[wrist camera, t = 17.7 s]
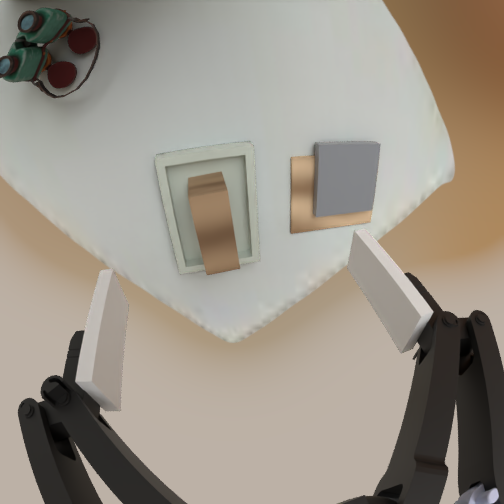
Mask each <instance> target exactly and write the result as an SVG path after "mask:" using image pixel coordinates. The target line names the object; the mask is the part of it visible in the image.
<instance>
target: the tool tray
mask: <svg viewBox="0 0 504 504" xmlns="http://www.w3.org/2000/svg"><path fill="white" fill-rule="evenodd" d="M155 165H156V170H157V176H158V181H159V186H160V191H161V196H162V200H163V205H164V210H165V214H166V219H167V223H168V228H169V232H170V236H171V240H172V245H173V249H174V253H175V257H176V261H177V265H178V268H179V272H180V274H185V273H191V272H198V271H204V270H205V266H204V262H203V258H202V254H201V250H200V246H199V242H198V238H197V234H196V230H195V226H194V221H193V217H192V213H191V208H190V204H189V200H188V178H190V177H195V176H200V175H205V174H210V173H215V172H220V171H222V174H223V177H224V180H225V183H226V187H227V190H228V195H229V202H230V208H231V215H232V221H233V227H234V233H235V240H236V246H237V252H238V258H239V264H240V265H241V264H247V263H253V262H259V261H260V253H259V233H258V213H257V195H256V176H255V158H254V145H253V144H252V143H251V142H250V141H246V142H237V143H228V144H220V145H213V146H205V147H198V148H192V149H186V150H179V151H174V152H168V153H162V154H157V155H156V157H155Z"/></svg>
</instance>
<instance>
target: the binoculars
mask: <svg viewBox="0 0 504 504" xmlns="http://www.w3.org/2000/svg"><path fill="white" fill-rule="evenodd" d="M88 20H89V18H88V19H83V20H80V19H78V18H72V16H71V15H70V14H68V13H67V12H66V10H64V11H63V10H61V9H51V8H40V9H38V10H36V11H35V12H34V11H26V12H24V13H23V14H22V15H21V16H20V18H19V20H18V29H19V30H20V32H19V33H18V35H17V37H16V40H15V43H13V45H12V46H11V48H10V50H9V52H8V54H7V56H3V57H1V58H0V78H2V77H3V79H4V80H6V81H9V82H21V81H31V82H32V83H33V84H34V85H35V86H37V87H39V88H40V90H41V91H42V92H45V93H46V94H47V95H48V96H50V97H52V98H60V97H64V96H66V95H68V94H70V93H72V92H74V91H76V90H77V89H79V88H80V87H81V86H82V84H83V83H84V82H85V81H86V80H87V79H88V77H89V75H90V73H91V71H92V70H93V68H94V65H95V63H96V60H97V58H98V53H99V49H100V39H99V33H98V31H97V29H96V27H95V25H94V24H92V23H90V22H88ZM72 21H74V22H76V23H83V22H87V23H89V24H91V25H92V27H93V28H92V27H82V28H78V29H75V30H72ZM67 35H69V37H68V45H69V47H70V49H71V50H72V51H73V52H74V53H77V54H84V53H87V52H89V51H90V50H92V49H93V48H94V47H95V46H96V45H97V48H96V53H95V57H94V60H93V62H92V65H91V67H90V69H89V71H88V73H87V75H86V77H85V79H84V80H83V81H82V82H81V83H80V85H79V86H78V87H77V88H76V89H75V90H73V91H71V92H69V93H68V94H66V95H61V96H56V95H54V94H52V93H50V92H49V91H48V90H47V89H46V88H45V86H44V84H43V82H42V81H41V80H39V79H38V77H39V75H40V74H41V72H43V71H45V70H48V74H47V76H48V80H49V82H50V84H51V85H52V86H53V87H55V88H65V87H67V86H69V85H70V84H72V82H73V81H74V80H75V78H76V74H77V70H76V67H75V66H74V64H72V63H70V62H67V61H60V62H57V63H55V64H53V65H51V62H52V59H51V55H50V54H49V52H48V51H47V48H46V46H47V45H48V44H50V43H53V42H55V41H56V40H57V39H58V38H63V37H66V36H67ZM37 43H43V44H44V45H43V47H38V46H37ZM36 80H37V81H39V82H36V83H35V82H34V81H36Z"/></svg>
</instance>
